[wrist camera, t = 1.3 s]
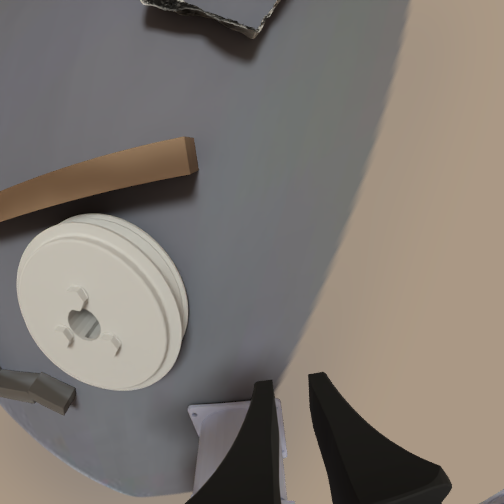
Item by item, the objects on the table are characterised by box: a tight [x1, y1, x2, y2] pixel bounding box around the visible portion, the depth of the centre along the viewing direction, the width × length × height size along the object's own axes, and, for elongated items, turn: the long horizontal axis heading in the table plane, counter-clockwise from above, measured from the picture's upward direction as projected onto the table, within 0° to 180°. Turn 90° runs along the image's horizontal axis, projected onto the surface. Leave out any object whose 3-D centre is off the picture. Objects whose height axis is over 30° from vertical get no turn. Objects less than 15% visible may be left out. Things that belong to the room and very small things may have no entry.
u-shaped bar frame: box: [0, 137, 199, 415], centre depth 20 cm, size 20×28×3 cm
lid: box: [17, 213, 188, 391], centre depth 19 cm, size 13×13×5 cm
